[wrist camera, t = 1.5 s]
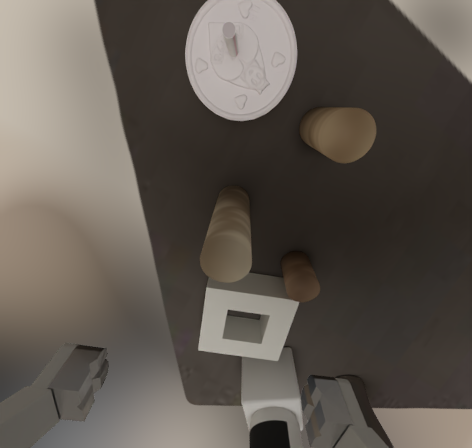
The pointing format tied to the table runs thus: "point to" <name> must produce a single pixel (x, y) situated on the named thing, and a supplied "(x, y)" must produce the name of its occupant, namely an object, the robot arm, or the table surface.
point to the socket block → (245, 329)
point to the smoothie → (241, 56)
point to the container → (272, 402)
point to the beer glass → (367, 408)
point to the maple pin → (228, 237)
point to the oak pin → (338, 132)
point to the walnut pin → (299, 277)
